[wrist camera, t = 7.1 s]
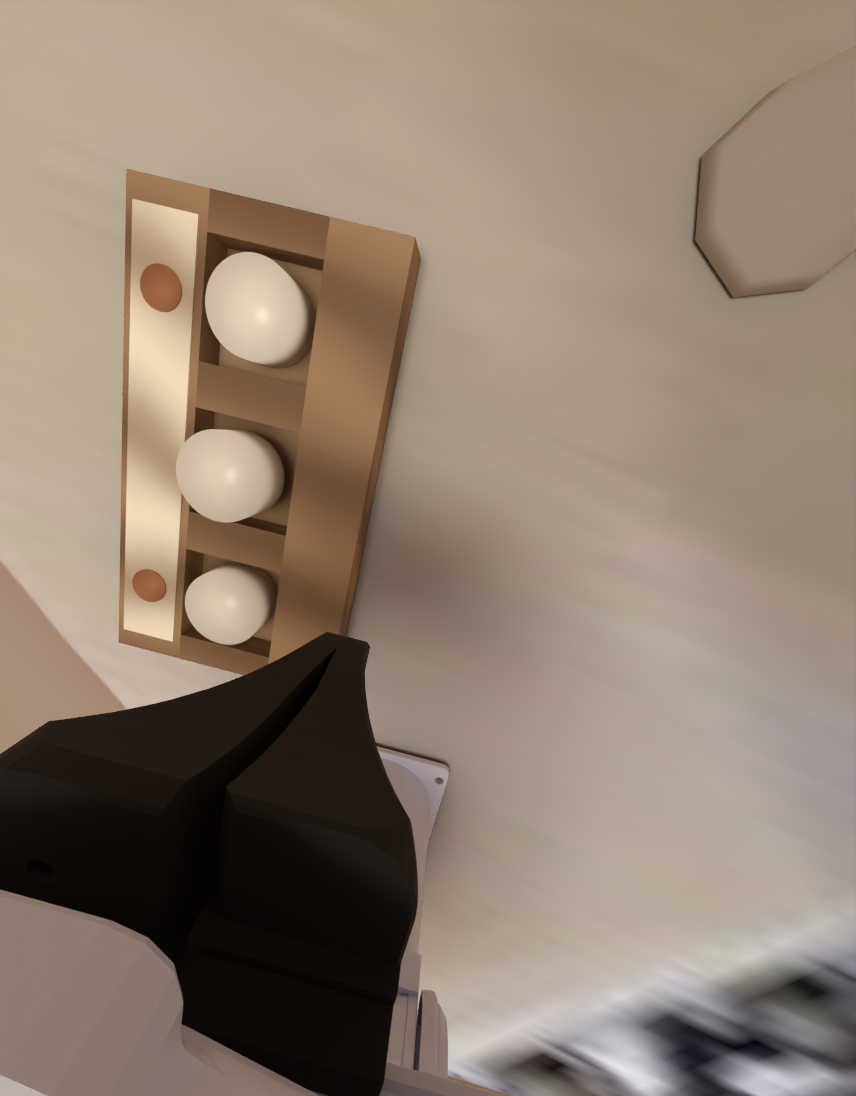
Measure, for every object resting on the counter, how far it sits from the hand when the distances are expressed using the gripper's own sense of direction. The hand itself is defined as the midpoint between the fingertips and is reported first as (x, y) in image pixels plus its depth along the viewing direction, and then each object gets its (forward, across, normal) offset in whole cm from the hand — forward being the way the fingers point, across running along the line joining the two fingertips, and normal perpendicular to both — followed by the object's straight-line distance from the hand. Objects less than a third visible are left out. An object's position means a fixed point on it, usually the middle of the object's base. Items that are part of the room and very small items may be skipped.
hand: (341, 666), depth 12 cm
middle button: (+9, +8, -3) cm, 12 cm away
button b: (+10, +8, +4) cm, 13 cm away
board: (+10, +8, -3) cm, 13 cm away
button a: (+10, +8, -10) cm, 16 cm away
